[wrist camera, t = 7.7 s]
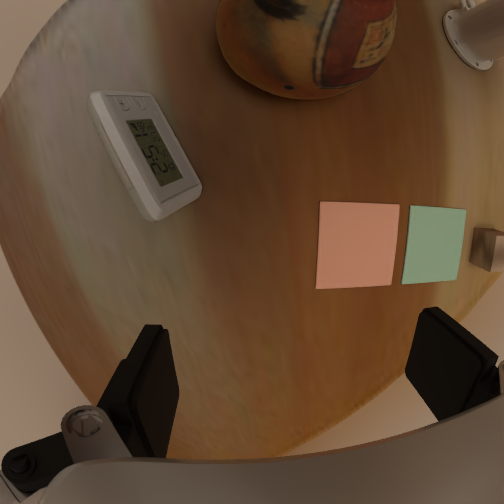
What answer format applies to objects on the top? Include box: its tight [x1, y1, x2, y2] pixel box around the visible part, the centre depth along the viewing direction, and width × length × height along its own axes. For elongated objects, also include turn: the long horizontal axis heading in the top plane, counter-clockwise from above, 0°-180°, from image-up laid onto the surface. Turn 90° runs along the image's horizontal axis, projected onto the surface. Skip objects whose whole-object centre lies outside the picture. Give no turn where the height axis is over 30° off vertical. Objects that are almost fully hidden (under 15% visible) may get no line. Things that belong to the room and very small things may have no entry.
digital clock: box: [87, 90, 202, 222], centre depth 30 cm, size 16×9×11 cm, turn 16°
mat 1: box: [315, 201, 399, 289], centre depth 39 cm, size 12×12×1 cm
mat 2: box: [401, 205, 466, 284], centre depth 40 cm, size 12×12×1 cm
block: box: [469, 228, 504, 272], centre depth 38 cm, size 6×6×6 cm
